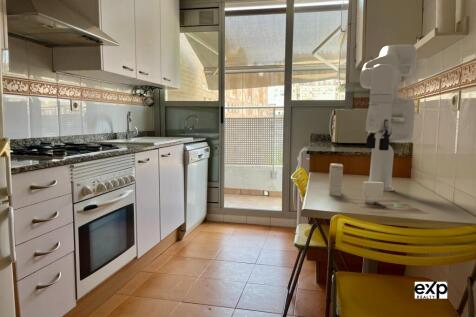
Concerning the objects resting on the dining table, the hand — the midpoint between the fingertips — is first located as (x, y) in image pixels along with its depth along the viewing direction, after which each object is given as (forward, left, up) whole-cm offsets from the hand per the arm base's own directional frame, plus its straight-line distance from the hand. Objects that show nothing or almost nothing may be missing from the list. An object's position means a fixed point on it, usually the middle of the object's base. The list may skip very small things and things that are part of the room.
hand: (376, 149), depth 129 cm
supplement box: (-16, -8, -21) cm, 28 cm away
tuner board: (+2, +3, -21) cm, 21 cm away
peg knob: (+3, 0, -19) cm, 20 cm away
